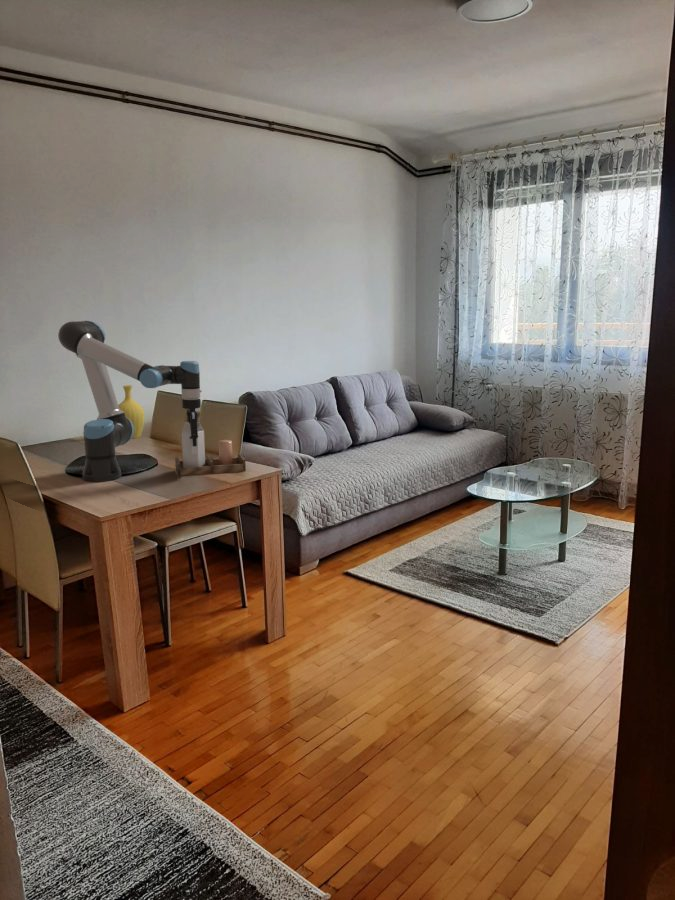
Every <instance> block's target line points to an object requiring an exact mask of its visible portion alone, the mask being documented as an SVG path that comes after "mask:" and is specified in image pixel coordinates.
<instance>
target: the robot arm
mask: <svg viewBox="0 0 675 900" xmlns="http://www.w3.org/2000/svg"><path fill="white" fill-rule="evenodd" d="M105 333H106V332H105V331H104V329H103V327H102V326H101V325H100V324H99V323H96V322H95V321H92V320H91V321H90V320H81V321H80V320H78V321H74V320H73V321H72V320H71V321H68V322H66V323H64V324H62V325H61V327H60V328H59V330H58V341H59V343H60V345H61V346H62V347H63V348H65V349H66V350H67V351H69V352H72V353H73V354H75V356H76V357H77V358H79V359H80V360H81V362H82V365H83V368H84V371H85V374H86V377H87V380H88V383H89V386H90V390H91V392H92V396H93V399H94V403H95V405H96V408H97V412H98V416H97V418H96V419H95V420H90V421H87V422H86V423H85V424H84V425H83V433H82V434H83V439H84V441H83V442H84V451H85V462H84V467H83V470H82V475H81V476H82V480H83V481H87V482H107V481H113V480H117V479H120V478H121V477H122V471H121V467H120V465H119V463H118V460H117V457H116V447H119V446H123V445H125V444H127V443H128V442H130V441H131V440H132V439H131V438H132V436H133V434H134V426H133V424H132V422H131V421H130V420H129V419H128V418H126V416H125V413H124V411H122V410H120V409H119V406H118V405H119V404H118V401H117V400H118V399H117V397H116V393H115V390H114V388H113V384H112V381H111V378H110V375H109V374H110V373H109V371H108V369H107V367H109V368H111V369H113V370H116V371H117V372H120V373H122V374H124V375H126V376H128V377H130V378H132V379H135V380H137V381H139V382H140V384H141V385H142V387H144V388H146V389H155V388H159V387H161V386H166V385H181V398H182V399H181V402H182V403H181V404H182V405H181V406H182V409H186V417H187V418H186V419H187V422H189V423H190V429H191V437H189V438H190V439H191V454H198V431H197V422H198V412H197V411H196V409H200V408H201V407H202V404H201V403H202V401H201V393H202V390H201V388H200V387H201V382H200V378H201V377H200V375H201V372H200V365H199V362H198V361H196V360H184V361H183V360H182V361H181V362H180V363H179V365H164V364H162V365H155V366H153V365H150V364H148V363H146V362H144V361H143V360H140V359H138V358H135V357H134V356H132V355H129V354H127V353H125V352H123V351H121V350H119V349H117V348H115V347H113V346H111V345H109V344H107V343H105V341H106V334H105Z"/></svg>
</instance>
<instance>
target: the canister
mask: <svg viewBox="0 0 675 900" xmlns="http://www.w3.org/2000/svg"><path fill="white" fill-rule="evenodd" d="M218 454H219V455H218V457H219V458H218V459H219V465H232V464H233V460H232V458H233V441H232V440H231V439H221V440H218Z"/></svg>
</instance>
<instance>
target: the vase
mask: <svg viewBox="0 0 675 900" xmlns="http://www.w3.org/2000/svg"><path fill="white" fill-rule="evenodd" d="M122 388H123V391H124V395H125V396H124V400H122V402H120V403H119V404H118V406H119V409H120V410H122V411H124V413H125V416H126V418H128V419H129V420H130V421H131V422H132V424H133V426H134V434H133V436H132V438H131V439H130V440H132V439H138V438H140V437H141V436H142V433H143V430H144V426H145V420H146V414H145V413H146V412H145V410H144V409H143V406H142V405H140V403H138V402H136V401H135V400H133V398H132V394H131V393H132V388H133V385H131V384H127V385H123V386H122Z"/></svg>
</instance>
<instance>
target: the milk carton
mask: <svg viewBox="0 0 675 900" xmlns="http://www.w3.org/2000/svg"><path fill="white" fill-rule="evenodd" d="M183 423H184V425H183V427H182V430H181V451H182V452H181V453H182V461H183V467H201V466H203V465H205V459H206V450H205V449H206V448H205V447H206V446H205V429H204V428H203V427H202V424H201V422H200V421H199V422H198V421H197V431H198V454H191V439H190V438H189V437H191V429H190V423H189V422H188V421H184V422H183Z"/></svg>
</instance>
